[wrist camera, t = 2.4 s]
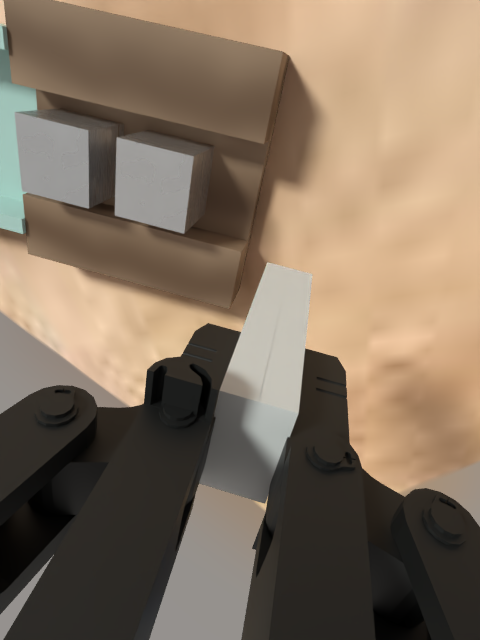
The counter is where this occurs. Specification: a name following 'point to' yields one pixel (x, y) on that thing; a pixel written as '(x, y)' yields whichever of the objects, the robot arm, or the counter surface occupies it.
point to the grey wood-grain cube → (162, 179)
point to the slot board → (159, 116)
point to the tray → (11, 141)
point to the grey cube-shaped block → (67, 155)
